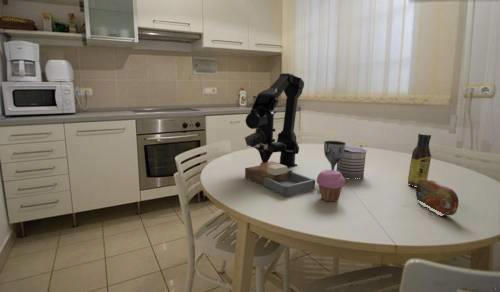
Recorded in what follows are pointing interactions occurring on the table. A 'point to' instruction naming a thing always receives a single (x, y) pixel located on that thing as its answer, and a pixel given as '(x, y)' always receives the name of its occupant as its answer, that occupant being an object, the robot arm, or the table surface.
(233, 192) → the table surface
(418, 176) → the sauce bottle
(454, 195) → the reddish-brown rounded block
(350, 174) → the can
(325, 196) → the cupcake
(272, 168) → the tile front
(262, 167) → the tile back
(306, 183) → the tray
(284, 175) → the brown flat block
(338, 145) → the wine glass
